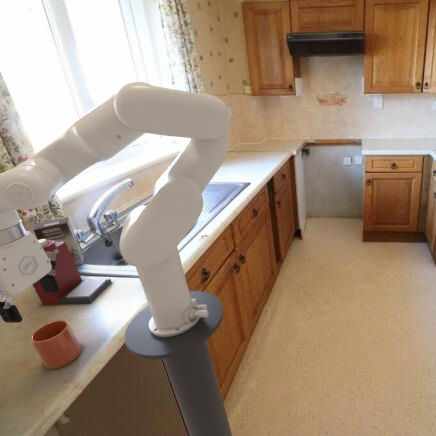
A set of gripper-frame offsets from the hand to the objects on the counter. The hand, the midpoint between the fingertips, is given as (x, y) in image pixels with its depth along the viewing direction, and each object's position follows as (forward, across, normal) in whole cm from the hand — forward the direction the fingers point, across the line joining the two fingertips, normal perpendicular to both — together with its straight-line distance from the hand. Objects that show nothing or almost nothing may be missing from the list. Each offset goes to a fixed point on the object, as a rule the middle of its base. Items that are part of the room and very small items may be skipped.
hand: (34, 305), depth 69 cm
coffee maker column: (+15, +24, +18) cm, 34 cm away
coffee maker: (+15, +24, +11) cm, 30 cm away
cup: (+15, 0, -1) cm, 15 cm away
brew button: (-1, +24, +18) cm, 30 cm away
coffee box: (+15, +41, +30) cm, 53 cm away
